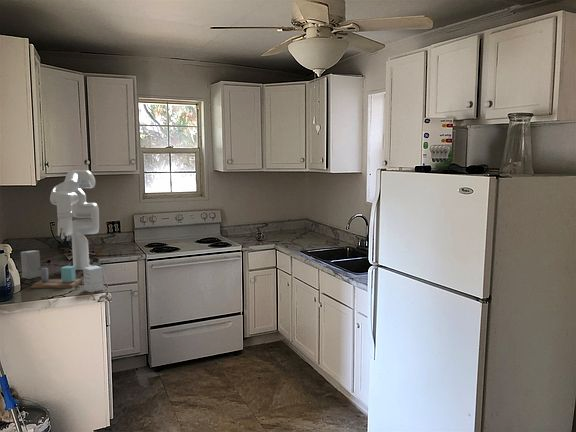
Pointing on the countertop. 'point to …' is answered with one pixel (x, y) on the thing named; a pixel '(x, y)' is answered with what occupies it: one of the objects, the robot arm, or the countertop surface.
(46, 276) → the dark steel post
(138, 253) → the countertop surface
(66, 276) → the turquoise block
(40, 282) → the walnut base board
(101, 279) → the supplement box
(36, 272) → the skincare box
